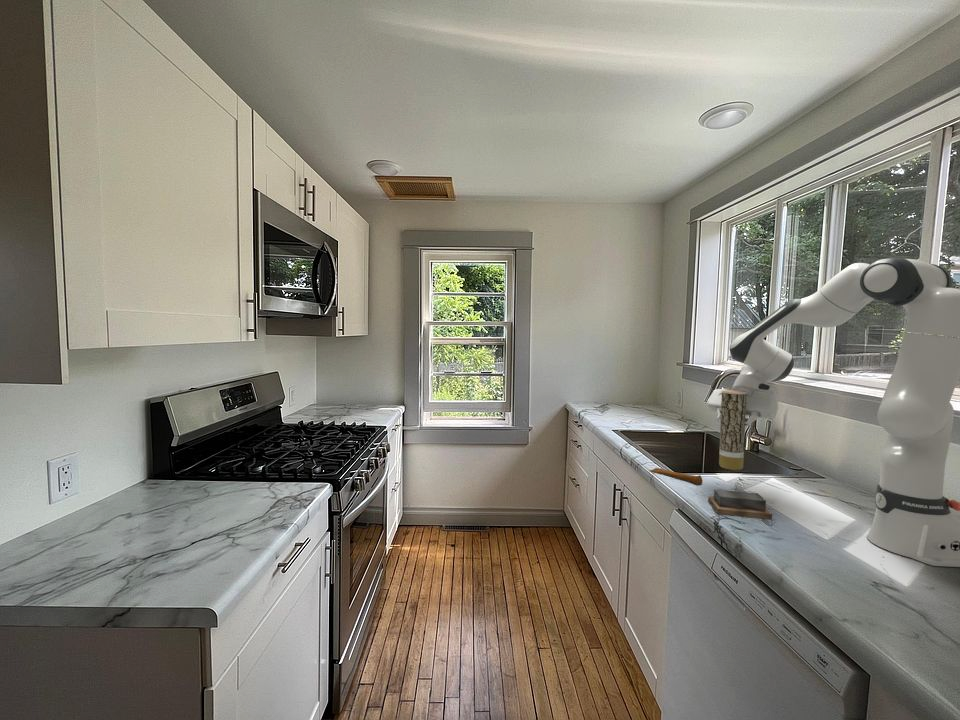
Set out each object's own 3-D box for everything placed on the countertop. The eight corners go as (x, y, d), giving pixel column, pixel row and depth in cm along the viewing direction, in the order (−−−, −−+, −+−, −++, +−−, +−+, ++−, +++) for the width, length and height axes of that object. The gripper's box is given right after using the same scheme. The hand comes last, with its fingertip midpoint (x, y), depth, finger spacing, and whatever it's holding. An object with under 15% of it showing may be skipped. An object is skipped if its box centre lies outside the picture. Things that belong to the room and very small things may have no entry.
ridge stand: (758, 505, 132) (759, 491, 131) (771, 519, 122) (772, 503, 122) (708, 500, 135) (708, 486, 135) (717, 513, 125) (718, 498, 125)
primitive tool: (648, 472, 164) (648, 462, 164) (656, 469, 167) (656, 460, 167) (698, 487, 148) (698, 477, 148) (706, 484, 152) (706, 474, 151)
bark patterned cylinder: (722, 469, 137) (725, 392, 136) (716, 463, 144) (719, 389, 142) (746, 471, 136) (749, 393, 134) (738, 465, 142) (742, 390, 141)
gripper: (712, 381, 151) (697, 411, 146) (779, 387, 134) (765, 421, 129) (718, 393, 154) (703, 423, 149) (784, 400, 137) (770, 434, 132)
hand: (732, 422), depth 139 cm, fingers closed on bark patterned cylinder, 7 cm apart
